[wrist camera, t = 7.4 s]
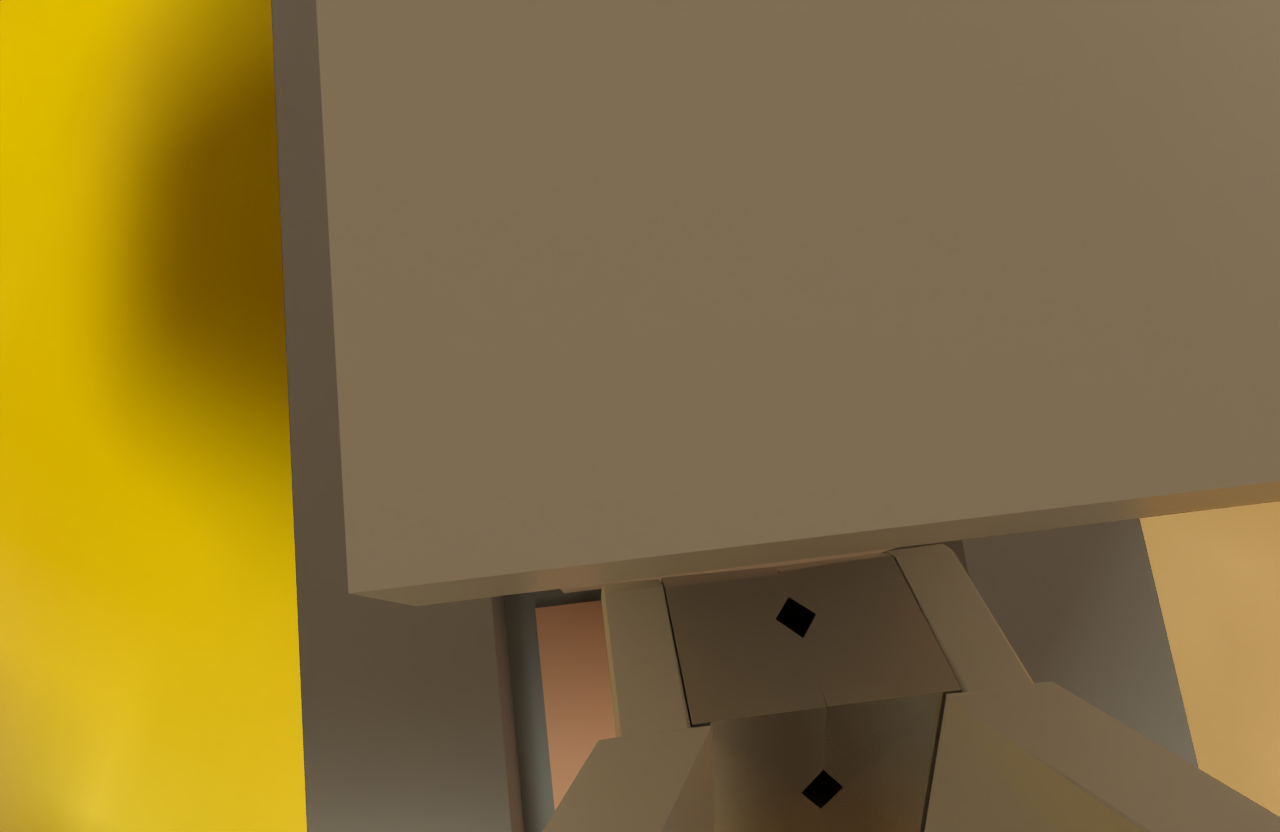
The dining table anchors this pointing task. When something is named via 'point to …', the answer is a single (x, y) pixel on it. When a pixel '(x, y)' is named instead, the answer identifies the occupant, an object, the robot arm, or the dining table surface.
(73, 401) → the dining table surface
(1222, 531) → the dining table surface
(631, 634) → the robot arm
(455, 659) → the switch panel
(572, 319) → the switch knob
